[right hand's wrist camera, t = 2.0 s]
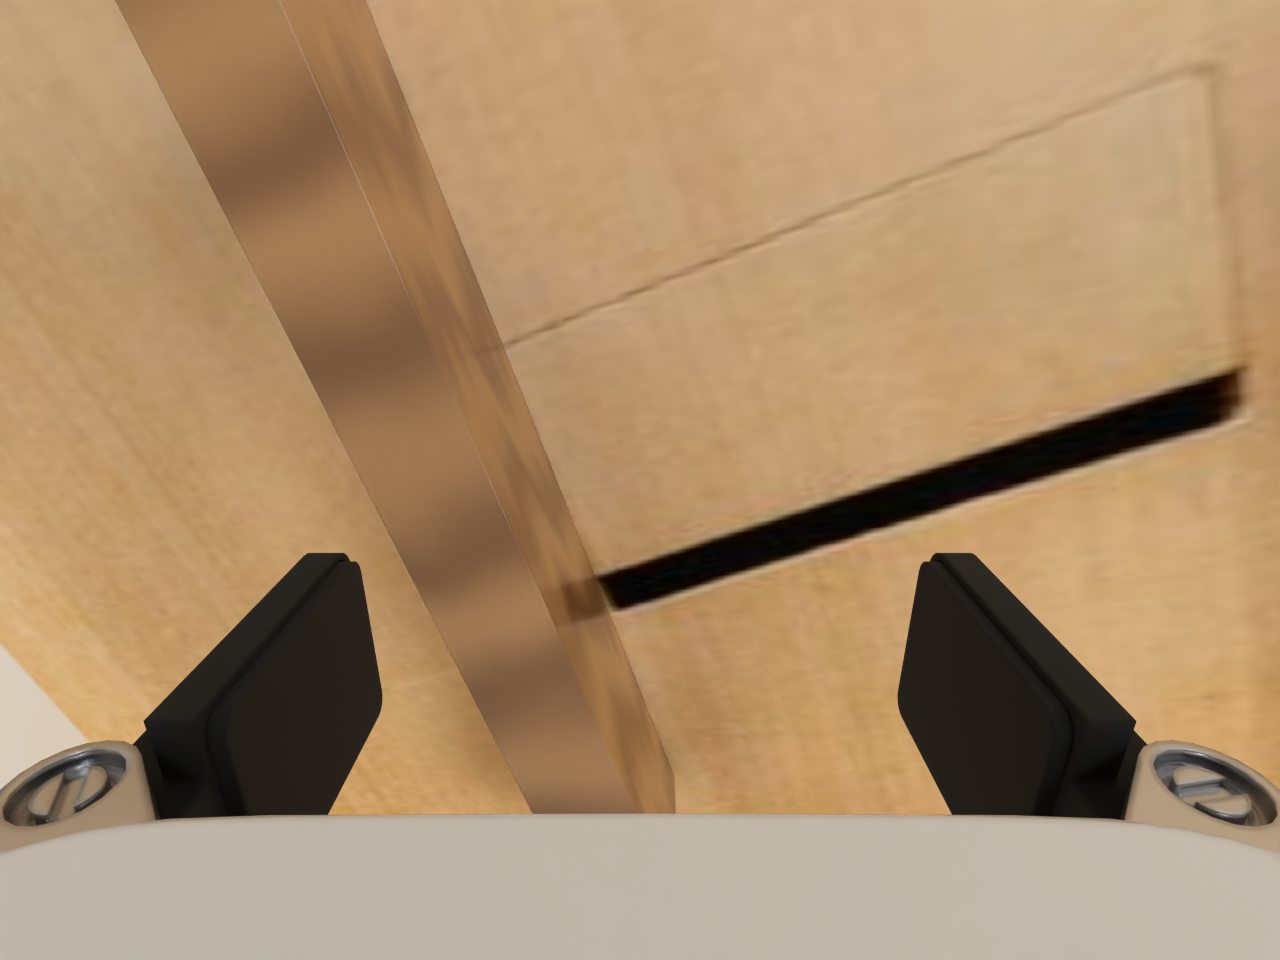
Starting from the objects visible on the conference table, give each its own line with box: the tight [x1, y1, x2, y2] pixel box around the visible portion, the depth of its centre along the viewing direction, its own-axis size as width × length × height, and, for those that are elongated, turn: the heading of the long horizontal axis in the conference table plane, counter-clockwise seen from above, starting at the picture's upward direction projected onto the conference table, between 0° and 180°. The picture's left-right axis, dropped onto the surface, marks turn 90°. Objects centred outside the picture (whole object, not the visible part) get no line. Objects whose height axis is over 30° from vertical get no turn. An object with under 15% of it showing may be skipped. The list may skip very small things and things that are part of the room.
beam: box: [115, 0, 676, 814], centre depth 27 cm, size 58×5×8 cm, turn 18°
